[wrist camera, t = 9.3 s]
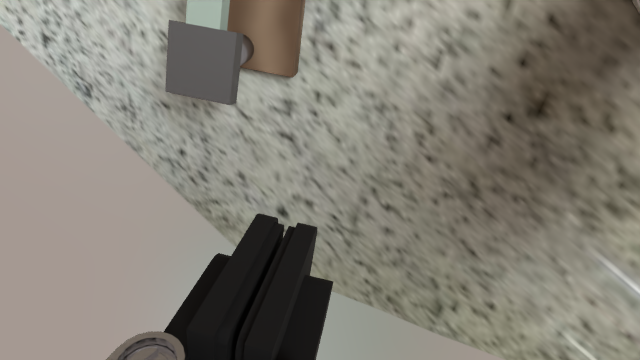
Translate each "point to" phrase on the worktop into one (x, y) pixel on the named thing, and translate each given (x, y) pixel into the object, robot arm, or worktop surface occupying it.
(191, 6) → the press lever
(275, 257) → the robot arm
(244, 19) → the press base
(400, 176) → the worktop surface
